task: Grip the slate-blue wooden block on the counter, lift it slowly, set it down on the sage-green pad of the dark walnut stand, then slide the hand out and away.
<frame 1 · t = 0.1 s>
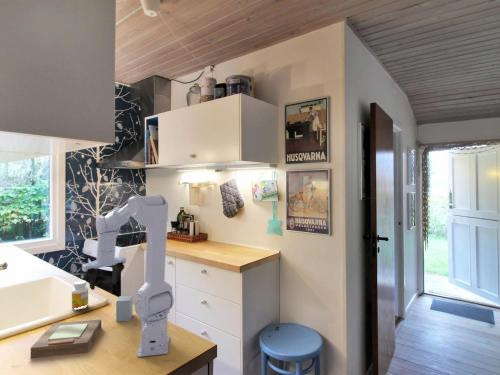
hand: (103, 285, 105), 10 cm above the counter, tool pointing down, fingers open, 7 cm apart
walnut stand: (69, 341, 88), on the counter
supplement bottle: (80, 308, 111), on the counter
slate block: (124, 318, 103), on the counter
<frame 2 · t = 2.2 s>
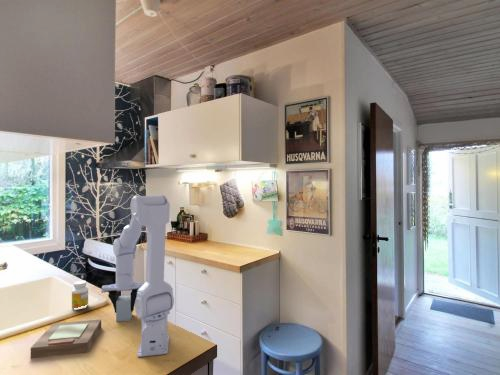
hand: (124, 311, 103), 2 cm above the counter, tool pointing down, fingers closed on slate block, 4 cm apart
slate block: (124, 318, 103), on the counter, touching gripper
everything else where it was.
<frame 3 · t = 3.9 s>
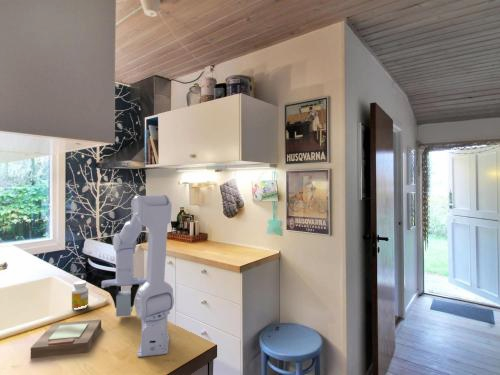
hand: (124, 306, 103), 4 cm above the counter, tool pointing down, fingers closed on slate block, 4 cm apart
slate block: (124, 313, 103), point 2 cm above the counter, touching gripper
everything else where it was.
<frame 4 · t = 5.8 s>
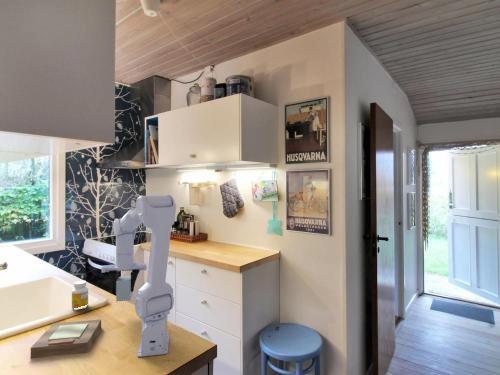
hand: (124, 291, 103), 9 cm above the counter, tool pointing down, fingers closed on slate block, 4 cm apart
slate block: (124, 298, 103), point 7 cm above the counter, touching gripper
everything else where it was.
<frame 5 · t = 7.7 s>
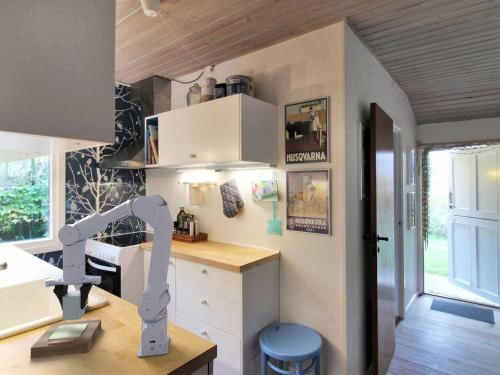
hand: (73, 308, 89), 9 cm above the counter, tool pointing down, fingers closed on slate block, 4 cm apart
slate block: (74, 316, 89), point 7 cm above the counter, touching gripper
everything else where it was.
when the fingers open (6 cm above the counter, at t = 9.6 s): slate block stays where it is, resting on walnut stand.
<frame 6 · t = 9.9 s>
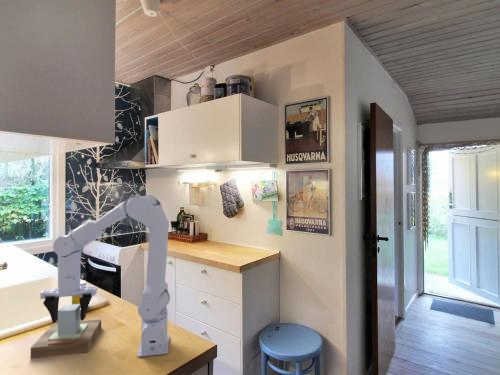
hand: (69, 320, 88), 6 cm above the counter, tool pointing down, fingers open, 7 cm apart
slate block: (69, 330, 88), point 3 cm above the counter, touching walnut stand
everything else where it was.
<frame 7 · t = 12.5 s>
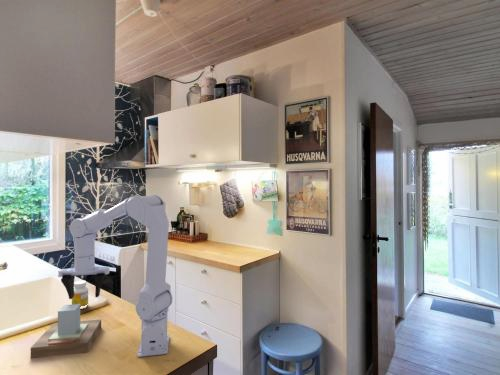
hand: (84, 297, 95), 10 cm above the counter, tool pointing down, fingers open, 7 cm apart
nothing on the counter moved.
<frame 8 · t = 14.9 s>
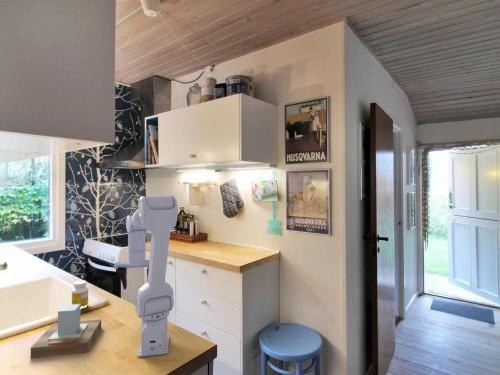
hand: (136, 287, 104), 10 cm above the counter, tool pointing down, fingers open, 7 cm apart
nothing on the counter moved.
at the end: slate block inside the target area on the walnut stand (0.0 cm from its centre), point 3.2 cm above the walnut stand's base; slate block tilted 0°; the gripper is holding nothing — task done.
